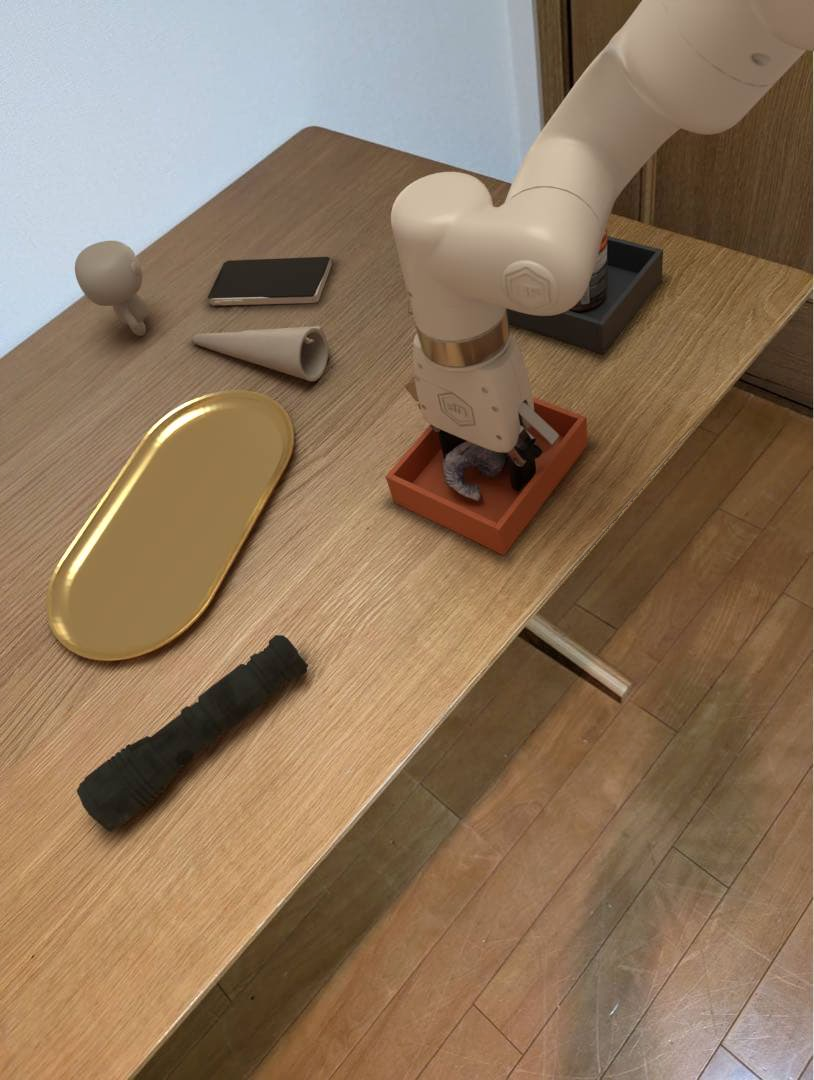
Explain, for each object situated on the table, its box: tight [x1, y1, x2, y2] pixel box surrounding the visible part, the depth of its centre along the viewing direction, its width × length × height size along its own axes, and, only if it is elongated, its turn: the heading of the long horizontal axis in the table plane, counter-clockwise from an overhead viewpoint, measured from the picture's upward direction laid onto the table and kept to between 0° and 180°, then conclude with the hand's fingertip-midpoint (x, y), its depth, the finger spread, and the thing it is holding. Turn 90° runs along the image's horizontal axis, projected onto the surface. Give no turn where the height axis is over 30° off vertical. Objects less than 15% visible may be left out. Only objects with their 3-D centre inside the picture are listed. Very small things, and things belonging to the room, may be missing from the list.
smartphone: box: [207, 256, 333, 306], centre depth 110 cm, size 8×1×15 cm
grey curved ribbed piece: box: [443, 436, 523, 502], centre depth 82 cm, size 5×5×10 cm
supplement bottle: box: [569, 227, 608, 311], centre depth 92 cm, size 6×6×11 cm
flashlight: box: [76, 634, 309, 832], centre depth 72 cm, size 5×21×5 cm, turn 129°
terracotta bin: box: [385, 396, 589, 556], centre depth 83 cm, size 13×15×4 cm
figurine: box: [74, 240, 148, 337], centre depth 106 cm, size 8×8×12 cm
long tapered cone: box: [191, 325, 331, 382], centre depth 100 cm, size 6×6×19 cm
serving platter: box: [45, 389, 295, 662], centre depth 89 cm, size 19×35×2 cm, turn 159°
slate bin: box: [507, 235, 664, 355], centre depth 95 cm, size 13×13×4 cm
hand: (489, 464), depth 84 cm, fingers open, 7 cm apart
